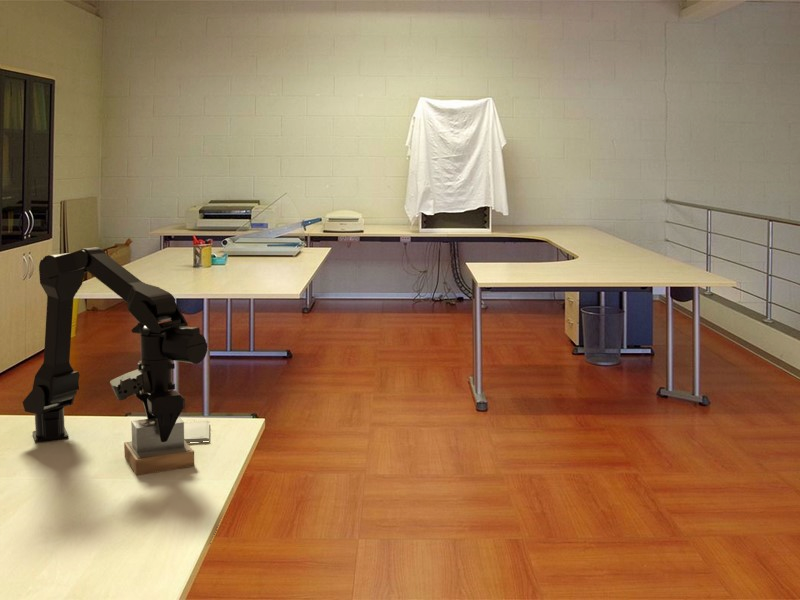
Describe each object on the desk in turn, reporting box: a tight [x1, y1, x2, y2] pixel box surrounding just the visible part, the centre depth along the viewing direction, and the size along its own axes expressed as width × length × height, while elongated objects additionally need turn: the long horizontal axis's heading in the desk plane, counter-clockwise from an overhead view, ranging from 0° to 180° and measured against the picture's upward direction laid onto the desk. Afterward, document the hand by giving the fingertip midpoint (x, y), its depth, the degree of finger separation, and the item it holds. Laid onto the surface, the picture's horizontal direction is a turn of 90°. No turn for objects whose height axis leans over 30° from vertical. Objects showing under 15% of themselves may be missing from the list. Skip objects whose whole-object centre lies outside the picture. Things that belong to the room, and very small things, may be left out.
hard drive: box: [183, 420, 210, 443], centre depth 175 cm, size 2×8×12 cm
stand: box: [123, 440, 195, 476], centre depth 158 cm, size 11×11×3 cm
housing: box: [131, 416, 185, 453], centre depth 157 cm, size 9×5×5 cm, turn 119°
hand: (158, 434), depth 157 cm, fingers open, 9 cm apart
